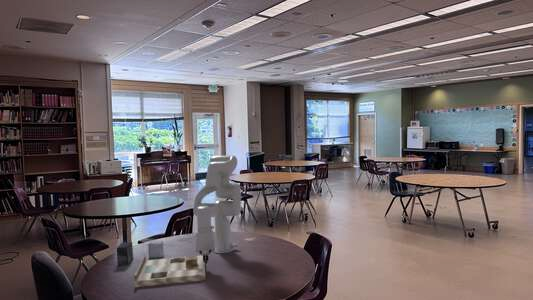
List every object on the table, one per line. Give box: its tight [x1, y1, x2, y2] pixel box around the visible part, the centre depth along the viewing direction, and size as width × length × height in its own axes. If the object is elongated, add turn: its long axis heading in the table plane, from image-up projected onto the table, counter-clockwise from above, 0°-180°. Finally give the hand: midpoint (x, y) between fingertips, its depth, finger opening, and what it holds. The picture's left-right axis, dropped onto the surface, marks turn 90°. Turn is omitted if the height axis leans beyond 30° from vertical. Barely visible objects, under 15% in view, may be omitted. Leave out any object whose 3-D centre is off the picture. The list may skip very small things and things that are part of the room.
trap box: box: [133, 254, 206, 288], centre depth 195 cm, size 34×30×6 cm
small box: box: [116, 241, 134, 266], centre depth 214 cm, size 11×6×10 cm, turn 5°
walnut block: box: [185, 255, 198, 268], centre depth 197 cm, size 6×6×4 cm
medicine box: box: [147, 241, 165, 258], centre depth 222 cm, size 8×4×9 cm, turn 84°
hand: (205, 262), depth 198 cm, fingers closed
